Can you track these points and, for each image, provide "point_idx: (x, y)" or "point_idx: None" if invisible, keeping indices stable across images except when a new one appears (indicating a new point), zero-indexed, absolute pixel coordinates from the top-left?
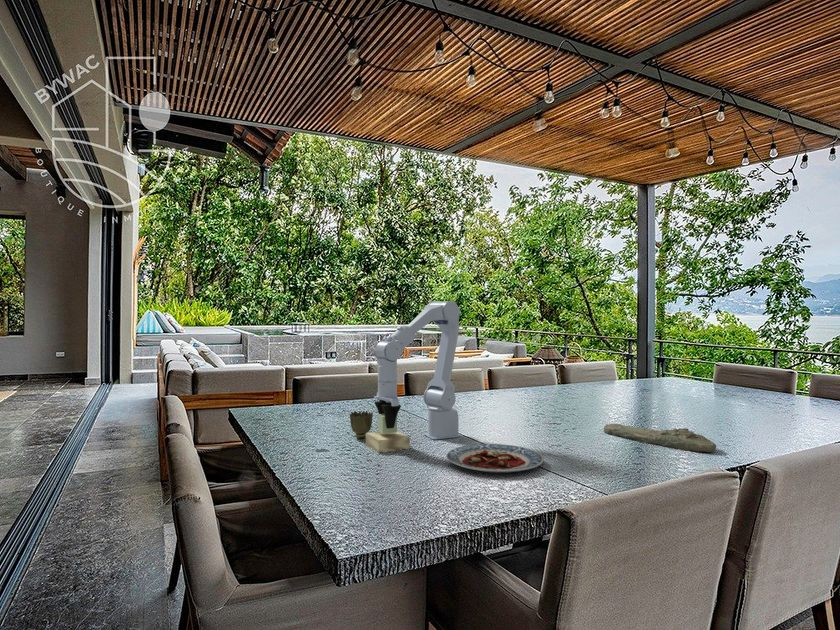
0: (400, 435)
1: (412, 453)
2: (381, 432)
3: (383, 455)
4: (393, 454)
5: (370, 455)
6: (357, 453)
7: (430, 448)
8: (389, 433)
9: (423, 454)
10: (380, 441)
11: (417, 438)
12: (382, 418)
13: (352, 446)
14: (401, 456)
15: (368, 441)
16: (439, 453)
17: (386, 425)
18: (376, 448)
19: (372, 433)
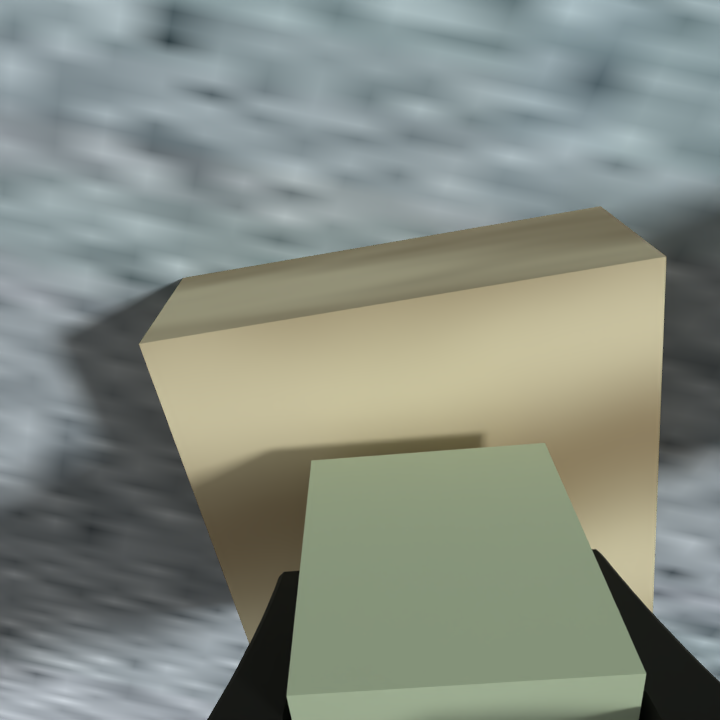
0: None
1: (113, 561)
2: (368, 461)
3: (72, 308)
4: (101, 409)
5: (90, 162)
6: (217, 3)
7: None
8: None
9: (68, 623)
10: (155, 362)
11: None
12: (303, 660)
13: (620, 3)
14: (16, 459)
15: (518, 244)
16: (85, 715)
17: (281, 600)
18: (238, 282)
19: (599, 351)
